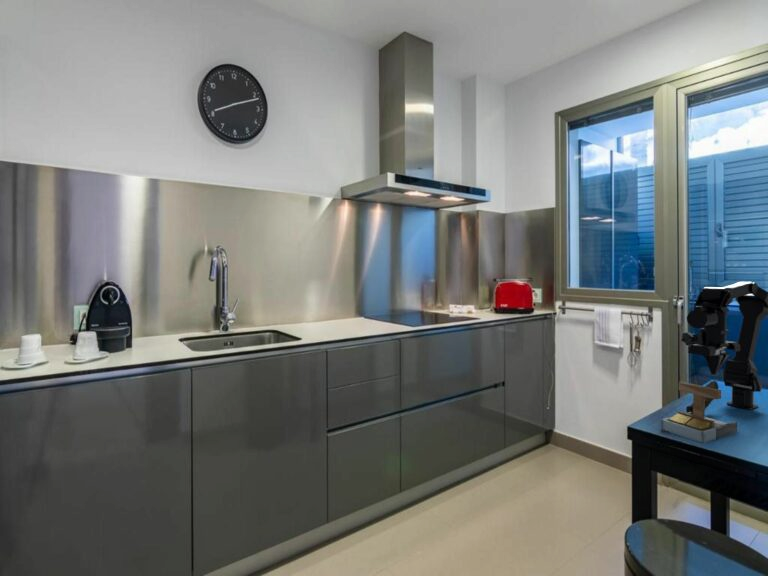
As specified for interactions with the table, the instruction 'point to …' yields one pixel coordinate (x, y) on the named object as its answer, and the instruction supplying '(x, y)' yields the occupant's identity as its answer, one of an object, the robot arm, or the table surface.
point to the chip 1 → (680, 419)
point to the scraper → (699, 400)
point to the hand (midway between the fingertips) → (713, 374)
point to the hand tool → (707, 400)
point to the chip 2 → (698, 425)
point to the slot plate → (722, 427)
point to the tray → (688, 431)
